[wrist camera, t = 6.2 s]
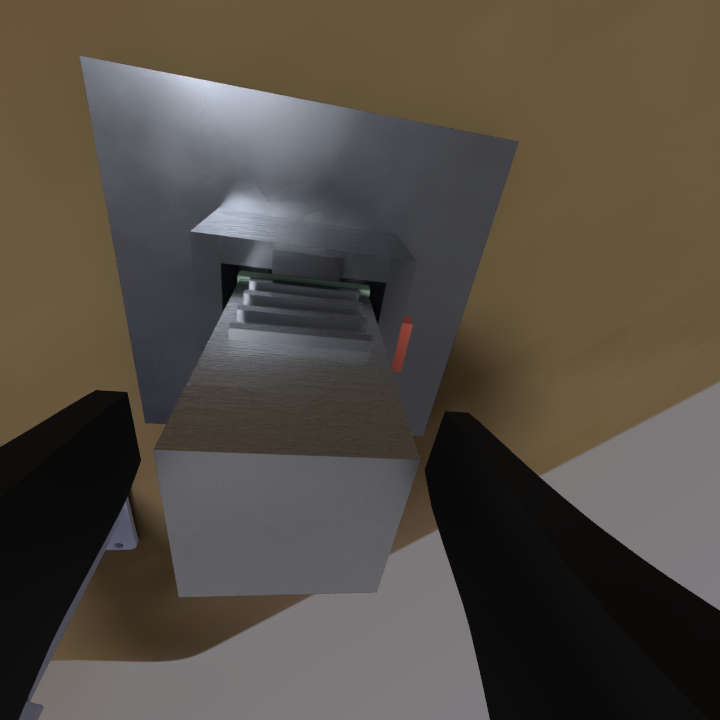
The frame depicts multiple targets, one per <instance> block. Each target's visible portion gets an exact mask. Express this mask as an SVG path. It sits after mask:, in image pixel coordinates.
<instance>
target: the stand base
mask: <svg viewBox="0 0 720 720" xmlns="http://www.w3.org/2000/svg"><path fill="white" fill-rule="evenodd" d="M80 60H81V65H82V71H83V77H84V82H85V88H86V93H87V99H88V105H89V110H90V116H91V121H92V127H93V133H94V138H95V144H96V149H97V155H98V161H99V166H100V172H101V177H102V183H103V189H104V194H105V200H106V205H107V211H108V217H109V222H110V228H111V233H112V239H113V245H114V250H115V256H116V261H117V267H118V273H119V278H120V284H121V289H122V295H123V301H124V306H125V312H126V317H127V323H128V329H129V334H130V340H131V345H132V351H133V357H134V362H135V368H136V373H137V379H138V385H139V390H140V396H141V401H142V407H143V413H144V418H145V423H154V424H167V422H168V420H169V418H170V416H171V414H172V412H173V410H174V408H175V406H176V404H177V402H178V400H179V398H180V396H181V394H182V392H183V390H184V388H185V386H186V384H187V382H188V380H189V378H190V377H191V375H192V373H193V371H194V369H195V367H196V365H197V363H198V361H199V359H200V357H201V355H202V353H203V351H204V349H205V347H206V345H207V343H208V341H209V339H210V337H211V335H212V333H213V331H214V329H215V327H216V325H217V323H218V321H219V319H220V317H221V315H222V313H223V311H224V309H225V307H226V305H227V303H228V302H229V300H230V298H231V296H232V294H233V292H234V290H235V288H236V286H237V284H238V280H237V276H238V274H239V272H240V270H241V271H251V272H260V273H268V274H277V275H286V276H294V277H303V278H311V279H320V280H329V281H337V282H346V283H354V284H363V285H369V288H370V295H369V299H370V302H371V305H372V308H373V312H374V315H375V318H376V321H377V324H378V327H379V330H380V333H381V337H382V340H383V343H384V346H385V349H386V352H387V355H388V359H389V362H390V365H391V368H392V371H393V374H394V377H395V381H396V384H397V387H398V390H399V393H400V396H401V399H402V402H403V406H404V409H405V412H406V415H407V418H408V421H409V424H410V428H411V431H412V434H413V436H423V435H424V432H425V429H426V426H427V423H428V420H429V417H430V414H431V411H432V408H433V404H434V401H435V398H436V395H437V392H438V389H439V386H440V383H441V380H442V377H443V374H444V370H445V367H446V364H447V361H448V358H449V355H450V352H451V349H452V346H453V343H454V340H455V336H456V333H457V330H458V327H459V324H460V321H461V318H462V315H463V312H464V309H465V306H466V302H467V299H468V296H469V293H470V290H471V287H472V284H473V281H474V278H475V275H476V272H477V268H478V265H479V262H480V259H481V256H482V253H483V250H484V247H485V244H486V241H487V238H488V234H489V231H490V228H491V225H492V222H493V219H494V216H495V213H496V210H497V207H498V204H499V201H500V197H501V194H502V191H503V188H504V185H505V182H506V179H507V176H508V173H509V170H510V167H511V163H512V160H513V157H514V154H515V151H516V148H517V145H518V141H513V140H508V139H502V138H497V137H492V136H487V135H482V134H477V133H472V132H467V131H462V130H456V129H451V128H446V127H441V126H436V125H431V124H426V123H421V122H415V121H410V120H405V119H400V118H395V117H390V116H385V115H380V114H375V113H369V112H364V111H359V110H354V109H349V108H344V107H339V106H334V105H328V104H323V103H318V102H313V101H308V100H303V99H298V98H293V97H288V96H282V95H277V94H272V93H267V92H262V91H257V90H252V89H247V88H241V87H236V86H231V85H226V84H221V83H216V82H211V81H206V80H201V79H195V78H190V77H185V76H180V75H175V74H170V73H165V72H160V71H155V70H149V69H144V68H139V67H134V66H129V65H124V64H119V63H114V62H108V61H103V60H98V59H93V58H88V57H83V56H80Z"/></svg>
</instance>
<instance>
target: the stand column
mask: <svg viewBox="0 0 720 720" xmlns="http://www.w3.org/2000/svg"><path fill="white" fill-rule="evenodd" d="M237 280H238V284H237V286H236V288H235V290H234V292H233V294H232V296H231V298H230V300H229V302H228V303H227V305H226V307H225V309H224V311H223V313H222V315H221V317H220V319H219V321H218V323H217V325H216V327H215V329H214V331H213V333H212V335H211V337H210V339H209V341H208V343H207V345H206V347H205V349H204V351H203V353H202V355H201V357H200V359H199V361H198V363H197V365H196V367H195V369H194V371H193V373H192V375H191V377H190V378H189V380H188V382H187V384H186V386H185V388H184V390H183V392H182V394H181V396H180V398H179V400H178V402H177V404H176V406H175V408H174V410H173V412H172V414H171V416H170V418H169V420H168V422H167V424H166V426H165V428H164V430H163V432H162V434H161V436H160V438H159V440H158V442H157V444H156V446H155V448H154V450H153V451H154V457H155V462H156V468H157V474H158V480H159V486H160V491H161V497H162V503H163V509H164V515H165V520H166V526H167V532H168V538H169V544H170V549H171V555H172V561H173V567H174V573H175V578H176V584H177V590H178V596H179V597H209V596H250V595H290V594H331V593H371V592H377V589H378V586H379V584H380V581H381V578H382V575H383V571H384V568H385V566H386V562H387V560H388V557H389V554H390V551H391V548H392V545H393V542H394V539H395V536H396V533H397V530H398V527H399V524H400V521H401V518H402V515H403V512H404V509H405V506H406V503H407V500H408V497H409V494H410V491H411V488H412V485H413V482H414V479H415V476H416V473H417V470H418V467H419V464H420V461H421V459H420V456H419V453H418V449H417V446H416V443H415V440H414V437H413V434H412V431H411V428H410V424H409V421H408V418H407V415H406V412H405V409H404V406H403V402H402V399H401V396H400V393H399V390H398V387H397V384H396V381H395V377H394V374H393V371H392V368H391V365H390V362H389V359H388V355H387V352H386V349H385V346H384V343H383V340H382V337H381V333H380V330H379V327H378V324H377V321H376V318H375V315H374V312H373V308H372V305H371V302H370V299H369V295H370V288H369V285H363V284H354V283H346V282H337V281H329V280H320V279H311V278H303V277H294V276H286V275H277V274H268V273H260V272H251V271H241V270H240V272H239V274H238V276H237Z"/></svg>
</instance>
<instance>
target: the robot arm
mask: <svg viewBox="0 0 720 720" xmlns="http://www.w3.org/2000/svg"><path fill="white" fill-rule="evenodd" d="M140 462H141V458H140V453H139V448H138V443H137V438H136V433H135V428H134V423H133V418H132V413H131V408H130V403H129V398H128V393H127V392H117V391H101V390H96V391H94V392H92V393H90V394H88V395H87V396H85V397H83V398H81V399H80V400H78V401H76V402H74V403H73V404H71V405H69V406H68V407H66V408H64V409H63V410H61V411H59V412H58V413H56V414H55V415H53V416H51V417H50V418H48V419H46V420H45V421H43V422H41V423H40V424H38V425H37V426H35V427H33V428H32V429H30V430H28V431H27V432H25V433H23V434H22V435H20V436H18V437H17V438H15V439H13V440H12V441H10V442H8V443H7V444H5V445H3V446H1V447H0V720H38V719H39V716H40V714H41V712H42V710H43V706H42V705H39V704H35V703H32V702H30V700H31V698H32V696H33V694H34V692H35V690H36V688H37V686H38V684H39V682H40V680H41V678H42V676H43V674H44V672H45V670H46V668H47V666H48V664H49V662H50V660H51V658H52V656H53V654H54V652H55V650H56V648H57V646H58V644H59V642H60V640H61V638H62V636H63V634H64V632H65V630H66V628H67V626H68V624H69V622H70V620H71V618H72V616H73V614H74V612H75V610H76V608H77V606H78V604H79V602H80V600H81V598H82V596H83V594H84V592H85V590H86V588H87V586H88V584H89V582H90V580H91V578H92V576H93V574H94V572H95V570H96V568H97V566H98V564H99V562H100V560H101V558H102V556H103V554H104V552H105V550H132V549H134V548H135V547H136V546H137V544H138V536H137V532H136V528H135V524H134V520H133V516H132V512H131V507H130V503H129V499H128V494H129V491H130V489H131V486H132V484H133V481H134V478H135V476H136V473H137V470H138V467H139V465H140ZM425 474H426V480H427V485H428V491H429V496H430V501H431V506H432V510H433V513H434V516H435V520H436V523H437V526H438V529H439V532H440V535H441V539H442V541H443V545H444V548H445V551H446V554H447V557H448V560H449V563H450V566H451V569H452V572H453V575H454V578H455V581H456V584H457V587H458V591H459V594H460V597H461V600H462V603H463V606H464V609H465V613H466V617H467V620H468V624H469V627H470V631H471V636H472V640H473V644H474V649H475V653H476V657H477V662H478V666H479V670H480V675H481V679H482V683H483V688H484V693H485V698H486V703H487V708H488V712H489V717H490V720H720V610H718V609H716V608H715V607H713V606H712V605H710V604H709V603H707V602H706V601H704V600H703V599H701V598H700V597H698V596H697V595H695V594H693V593H692V592H691V591H689V590H688V589H686V588H685V587H683V586H681V585H680V584H678V583H677V582H675V581H674V580H672V579H671V578H669V577H668V576H666V575H665V574H664V573H662V572H661V571H659V570H658V569H656V568H655V567H653V566H652V565H650V564H649V563H648V562H646V561H645V560H643V559H642V558H641V557H639V556H638V555H636V554H635V553H634V552H633V551H631V550H630V549H628V548H627V547H626V546H624V545H623V544H622V543H620V542H619V541H618V540H616V539H615V538H614V537H612V536H611V535H609V534H608V533H607V532H605V531H604V530H603V529H602V528H600V527H599V526H597V525H596V524H595V523H594V522H593V521H591V520H590V519H589V518H587V517H586V516H585V515H584V514H582V513H581V512H580V511H579V510H578V509H577V508H575V507H574V506H573V505H572V504H571V503H569V502H568V501H567V500H566V499H564V498H563V497H562V496H561V495H560V494H558V493H557V492H556V491H555V490H554V489H552V487H550V486H549V485H548V484H547V483H546V482H545V481H543V480H542V479H541V478H540V477H539V476H538V475H537V474H536V473H534V472H533V471H532V470H531V469H530V468H529V467H528V466H527V465H526V464H524V463H523V462H522V461H521V460H520V459H519V458H518V457H517V456H516V455H515V454H514V453H512V452H511V451H510V450H509V449H508V448H507V447H506V446H505V445H504V444H503V443H502V442H501V441H499V440H498V439H497V438H496V437H495V436H494V435H493V434H492V433H491V432H490V431H489V430H488V429H486V428H485V427H484V426H483V425H482V424H481V423H480V422H479V421H477V420H476V419H475V418H474V417H473V416H472V415H470V414H469V413H464V412H447V411H445V413H444V416H443V419H442V422H441V424H440V427H439V430H438V433H437V436H436V439H435V442H434V445H433V447H432V450H431V453H430V456H429V459H428V462H427V465H426V468H425Z"/></svg>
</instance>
